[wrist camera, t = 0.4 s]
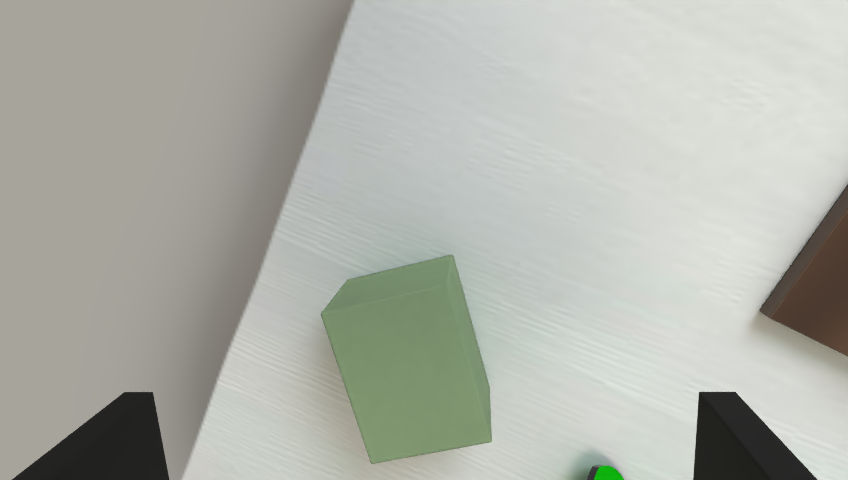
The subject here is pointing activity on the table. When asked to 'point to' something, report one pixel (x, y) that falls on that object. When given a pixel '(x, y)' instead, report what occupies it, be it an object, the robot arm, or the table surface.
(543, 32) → the table surface
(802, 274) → the back board
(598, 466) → the stick construction toy
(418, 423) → the green rectangular block
